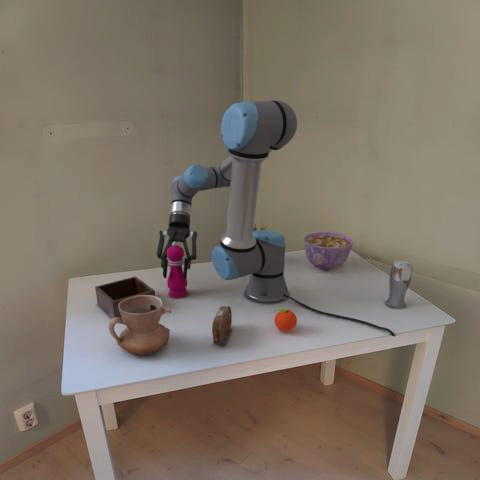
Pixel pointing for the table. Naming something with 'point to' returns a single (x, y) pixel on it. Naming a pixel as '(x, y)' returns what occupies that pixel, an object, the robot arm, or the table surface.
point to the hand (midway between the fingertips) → (174, 276)
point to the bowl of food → (327, 249)
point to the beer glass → (399, 283)
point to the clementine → (285, 320)
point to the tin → (222, 325)
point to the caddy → (121, 294)
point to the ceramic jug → (141, 325)
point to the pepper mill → (176, 272)
